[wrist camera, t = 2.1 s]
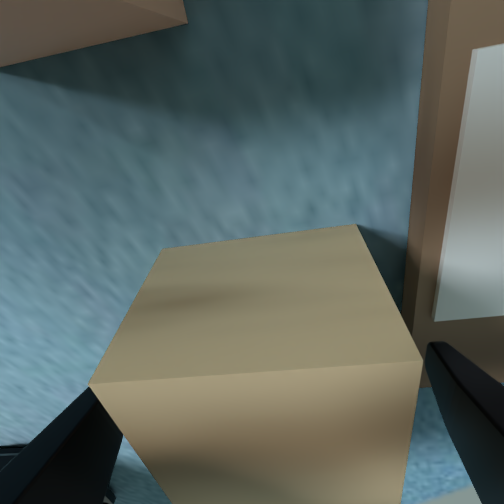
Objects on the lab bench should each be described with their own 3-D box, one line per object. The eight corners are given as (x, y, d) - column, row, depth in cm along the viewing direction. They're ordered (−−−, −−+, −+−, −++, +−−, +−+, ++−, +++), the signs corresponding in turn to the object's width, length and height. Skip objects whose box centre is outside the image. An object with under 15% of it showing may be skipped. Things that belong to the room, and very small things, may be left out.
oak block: (355, 357, 13) (398, 512, 8) (208, 368, 13) (180, 515, 9) (354, 221, 9) (423, 360, 5) (163, 247, 10) (88, 383, 6)
